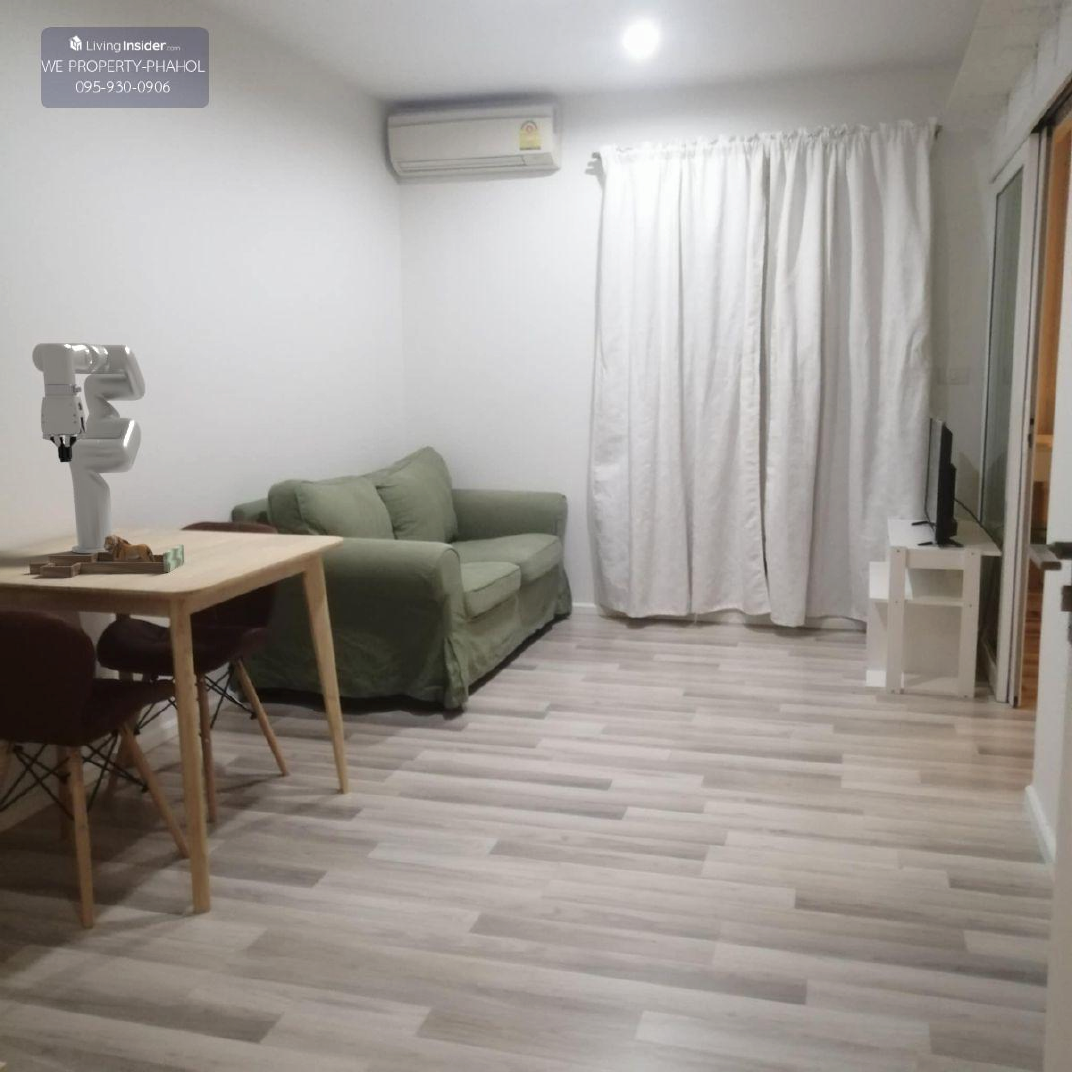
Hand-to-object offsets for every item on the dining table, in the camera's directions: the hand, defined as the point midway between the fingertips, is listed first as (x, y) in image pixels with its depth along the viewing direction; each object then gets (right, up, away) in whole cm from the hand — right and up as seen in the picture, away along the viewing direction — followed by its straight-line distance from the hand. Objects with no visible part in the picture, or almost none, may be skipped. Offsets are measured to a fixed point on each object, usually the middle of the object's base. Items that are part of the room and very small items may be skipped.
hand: (65, 461), depth 272 cm
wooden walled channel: (+13, -28, -3) cm, 31 cm away
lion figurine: (+19, -28, -5) cm, 35 cm away
